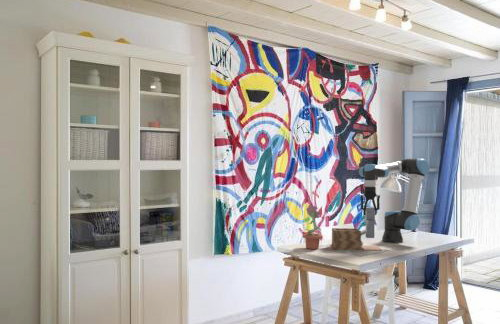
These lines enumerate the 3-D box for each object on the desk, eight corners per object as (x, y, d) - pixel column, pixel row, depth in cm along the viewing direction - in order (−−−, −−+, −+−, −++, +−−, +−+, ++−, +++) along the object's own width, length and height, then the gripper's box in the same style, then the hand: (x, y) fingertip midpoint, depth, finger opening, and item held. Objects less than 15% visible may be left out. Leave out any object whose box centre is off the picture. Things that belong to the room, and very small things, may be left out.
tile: (377, 247, 308) (377, 245, 308) (382, 250, 294) (382, 249, 294) (360, 246, 309) (360, 245, 309) (364, 250, 295) (364, 249, 295)
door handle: (346, 253, 314) (371, 241, 310) (340, 243, 315) (365, 230, 311) (346, 248, 331) (370, 236, 327) (341, 239, 332) (364, 226, 328)
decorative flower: (327, 248, 301) (327, 205, 301) (317, 251, 291) (317, 206, 291) (309, 245, 311) (309, 203, 311) (298, 248, 300) (298, 205, 301)
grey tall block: (371, 235, 308) (371, 206, 308) (375, 239, 295) (375, 208, 295) (364, 235, 308) (364, 206, 308) (368, 238, 295) (368, 208, 295)
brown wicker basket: (358, 246, 308) (359, 228, 308) (362, 250, 295) (362, 231, 295) (330, 246, 309) (330, 228, 310) (332, 249, 297) (332, 230, 297)
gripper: (382, 186, 305) (381, 219, 305) (355, 185, 306) (355, 218, 306) (384, 186, 297) (384, 220, 297) (357, 186, 299) (357, 220, 298)
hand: (370, 219), depth 302 cm, fingers closed on grey tall block, 5 cm apart
